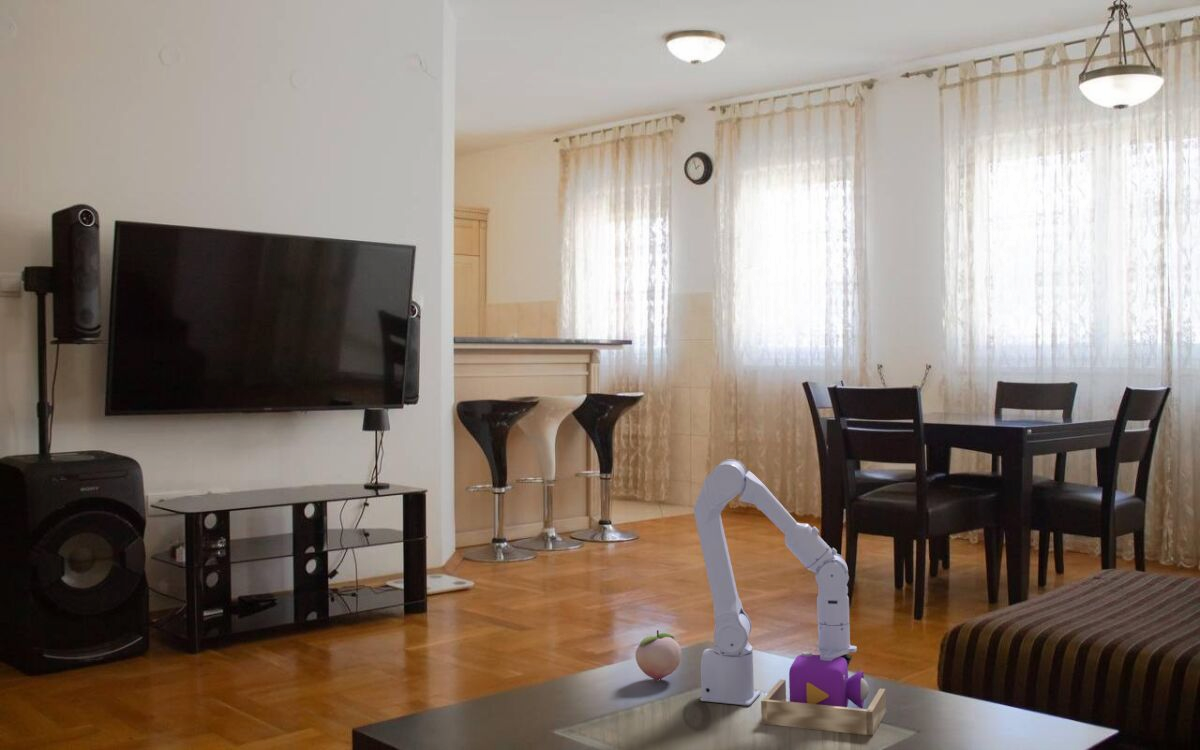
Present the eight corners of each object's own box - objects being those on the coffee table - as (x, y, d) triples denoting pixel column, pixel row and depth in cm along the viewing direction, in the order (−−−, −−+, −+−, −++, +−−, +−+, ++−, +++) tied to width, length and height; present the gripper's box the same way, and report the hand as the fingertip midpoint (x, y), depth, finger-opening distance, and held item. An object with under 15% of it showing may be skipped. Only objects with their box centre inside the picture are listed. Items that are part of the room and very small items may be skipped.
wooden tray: (761, 723, 193) (761, 700, 193) (780, 701, 205) (780, 679, 205) (872, 735, 185) (872, 711, 185) (886, 711, 197) (885, 688, 197)
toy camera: (871, 724, 191) (870, 666, 190) (790, 723, 193) (789, 665, 192) (865, 704, 201) (864, 649, 201) (789, 703, 203) (787, 648, 203)
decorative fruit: (663, 690, 213) (661, 638, 213) (629, 683, 219) (628, 633, 218) (691, 678, 221) (689, 628, 221) (657, 671, 226) (656, 622, 226)
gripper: (847, 633, 195) (849, 710, 195) (862, 614, 208) (865, 686, 209) (807, 630, 198) (810, 706, 198) (825, 611, 211) (827, 682, 211)
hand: (835, 695), depth 203 cm, fingers closed
